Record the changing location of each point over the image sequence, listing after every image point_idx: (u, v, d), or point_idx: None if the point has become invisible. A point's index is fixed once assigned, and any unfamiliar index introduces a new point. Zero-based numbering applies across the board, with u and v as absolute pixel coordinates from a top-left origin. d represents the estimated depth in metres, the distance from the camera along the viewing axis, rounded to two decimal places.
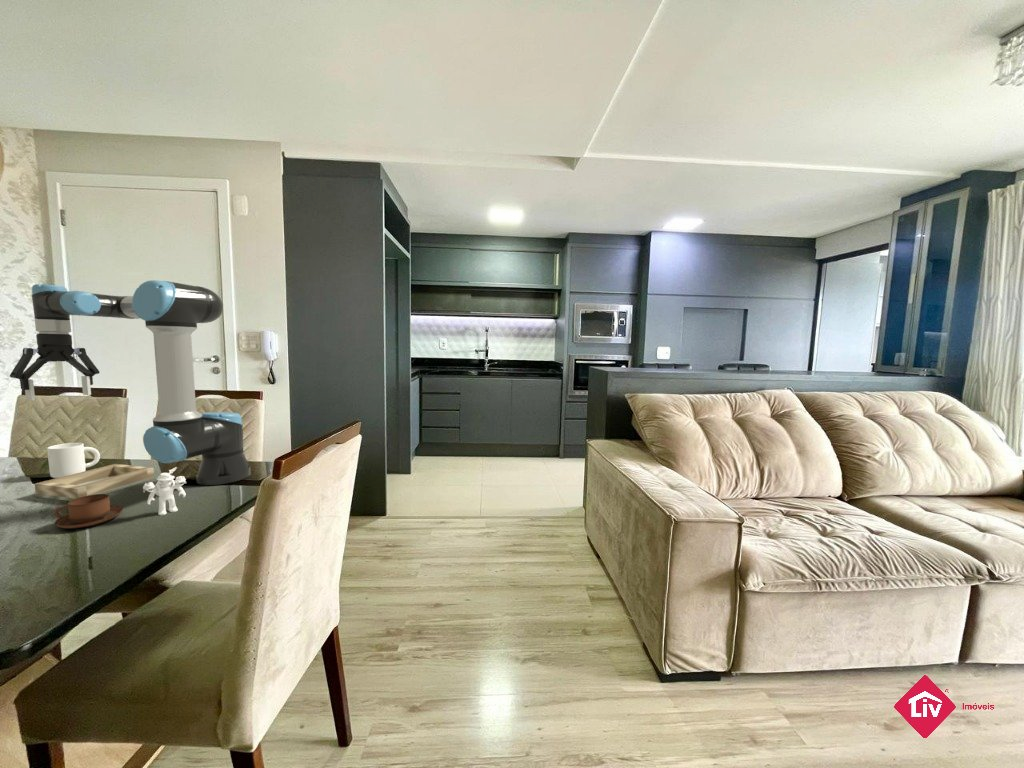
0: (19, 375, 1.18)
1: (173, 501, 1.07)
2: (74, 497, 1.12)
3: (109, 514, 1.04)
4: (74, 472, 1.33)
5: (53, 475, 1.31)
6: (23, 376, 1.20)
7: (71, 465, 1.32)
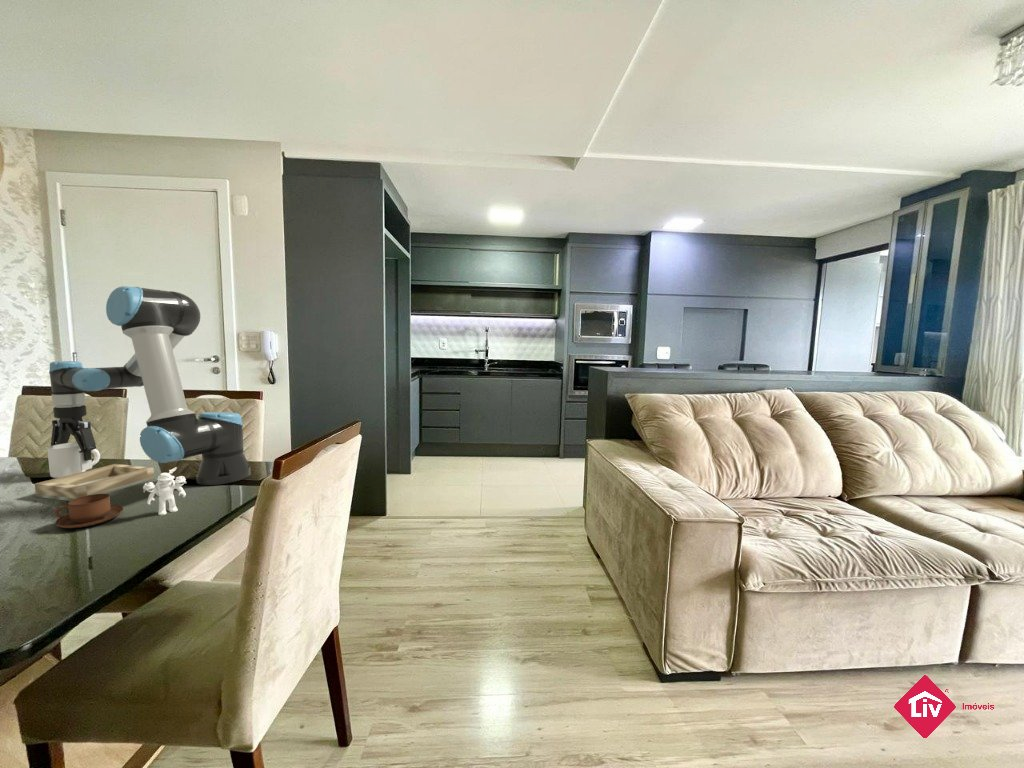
0: (52, 444, 1.35)
1: (173, 501, 1.07)
2: (74, 497, 1.12)
3: (109, 514, 1.04)
4: (74, 472, 1.33)
5: (53, 475, 1.31)
6: None
7: (71, 465, 1.32)
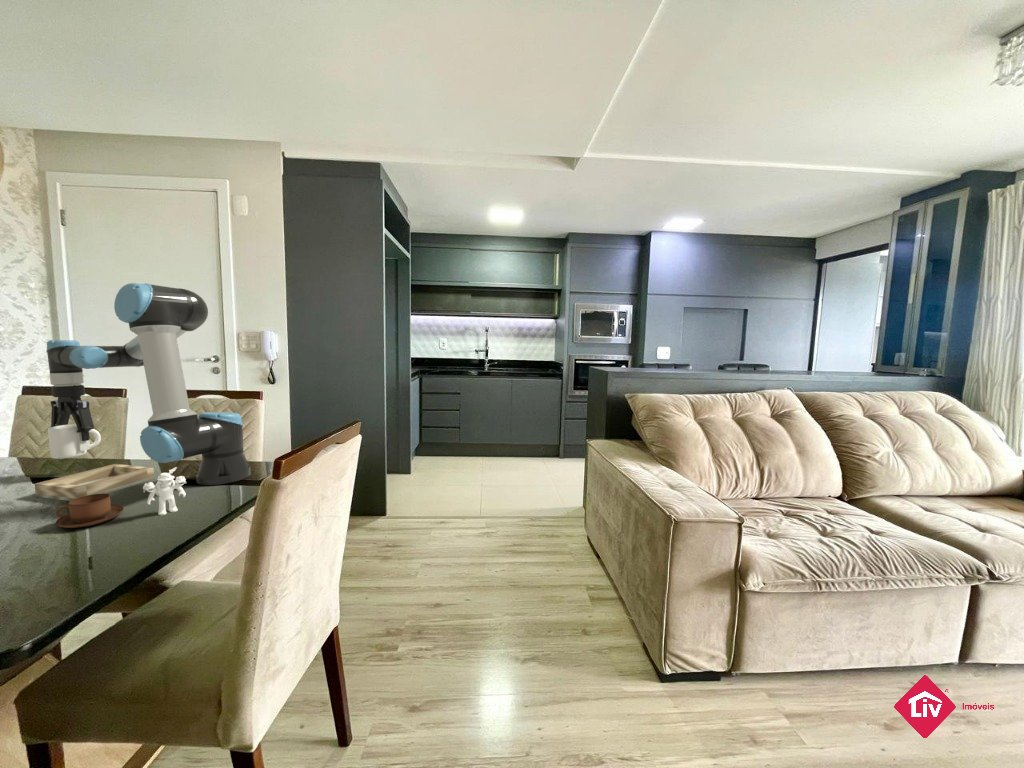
0: (52, 426, 1.34)
1: (173, 501, 1.07)
2: (74, 497, 1.12)
3: (110, 514, 1.04)
4: (75, 453, 1.32)
5: (54, 456, 1.30)
6: None
7: (72, 446, 1.31)
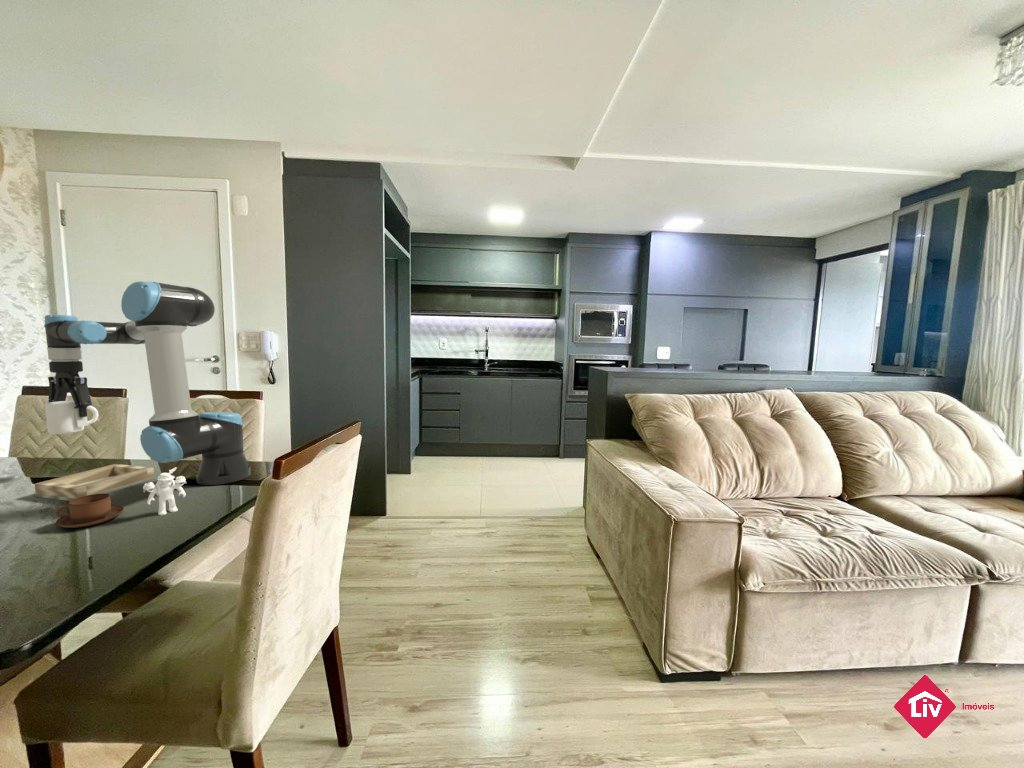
0: None
1: (173, 501, 1.07)
2: (74, 497, 1.12)
3: (110, 514, 1.04)
4: (72, 429, 1.31)
5: (51, 431, 1.29)
6: None
7: (69, 422, 1.31)
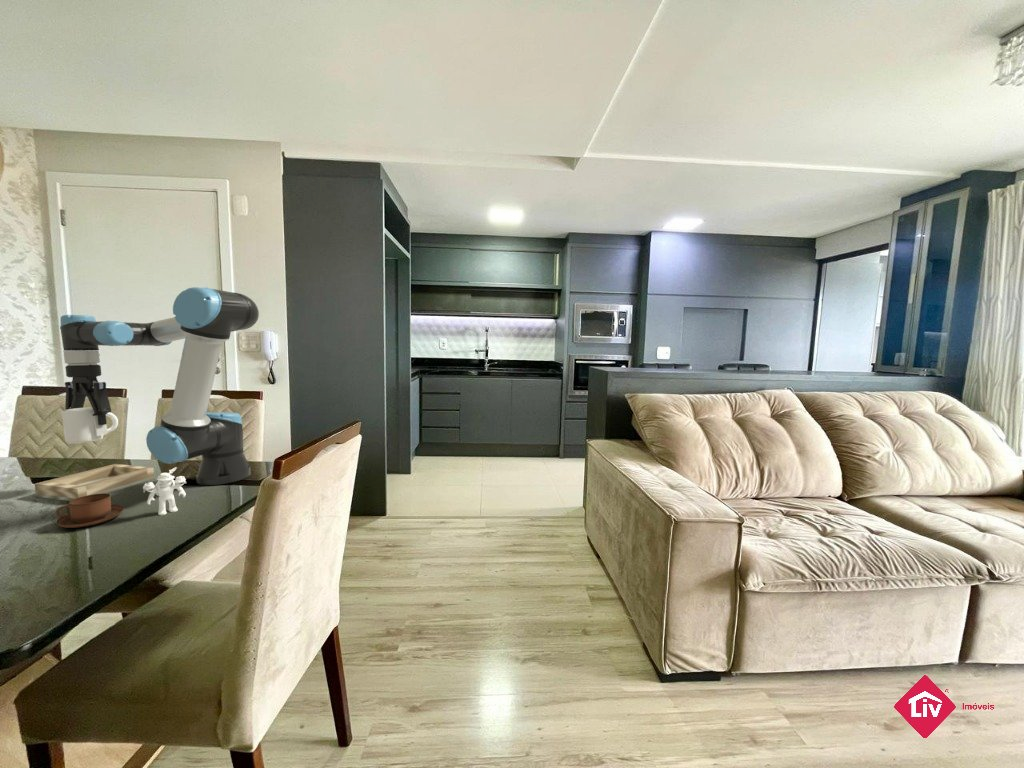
0: (66, 409, 1.24)
1: (173, 501, 1.07)
2: (74, 497, 1.12)
3: (110, 514, 1.05)
4: (91, 438, 1.22)
5: (68, 440, 1.19)
6: None
7: (88, 430, 1.21)
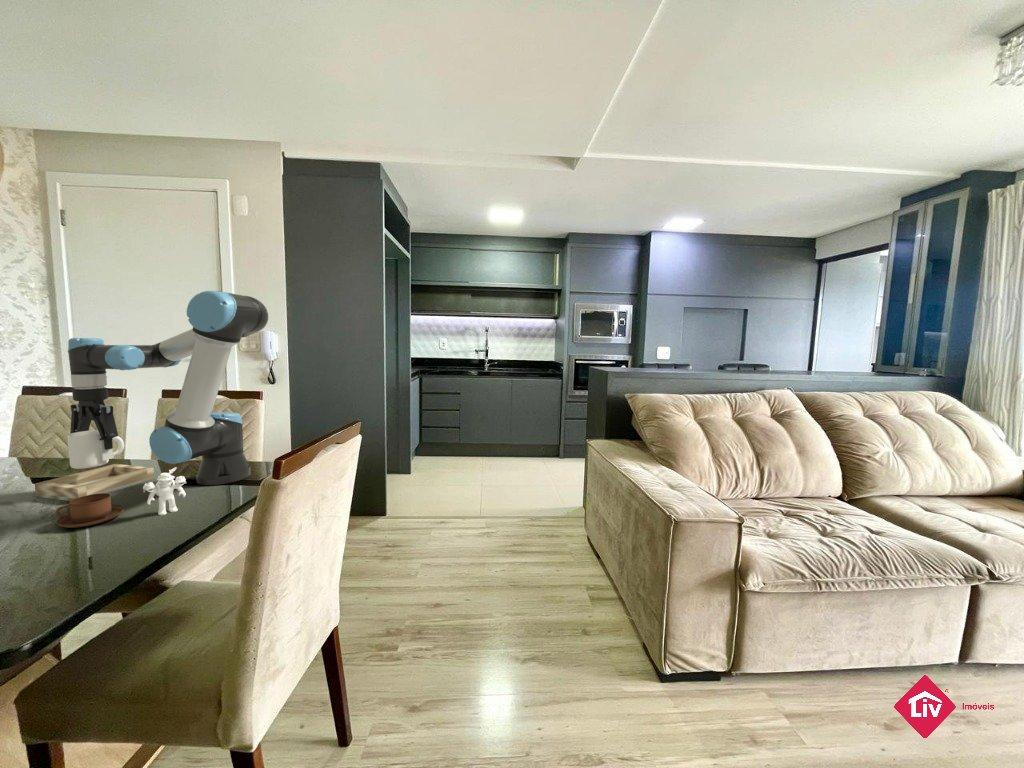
0: (72, 432, 1.22)
1: (173, 501, 1.07)
2: (74, 497, 1.12)
3: (110, 513, 1.05)
4: (96, 462, 1.20)
5: (74, 465, 1.17)
6: None
7: (93, 455, 1.19)
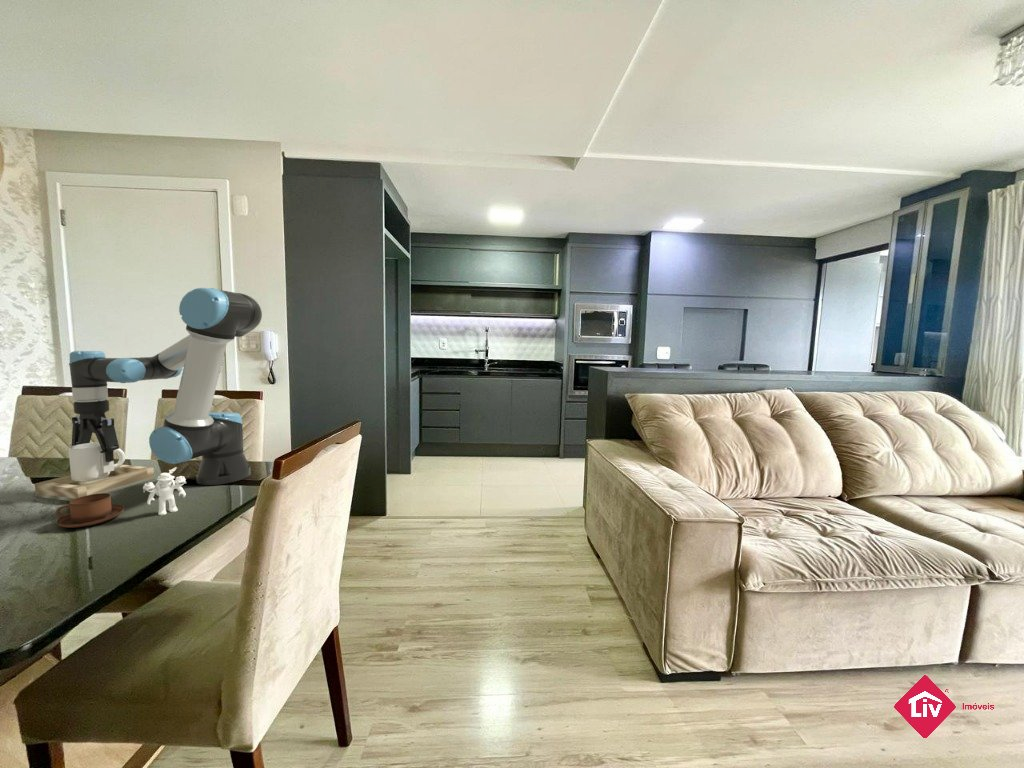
0: (73, 444, 1.22)
1: (173, 501, 1.07)
2: (74, 497, 1.12)
3: (110, 513, 1.05)
4: (98, 475, 1.20)
5: (75, 478, 1.18)
6: None
7: (95, 468, 1.19)
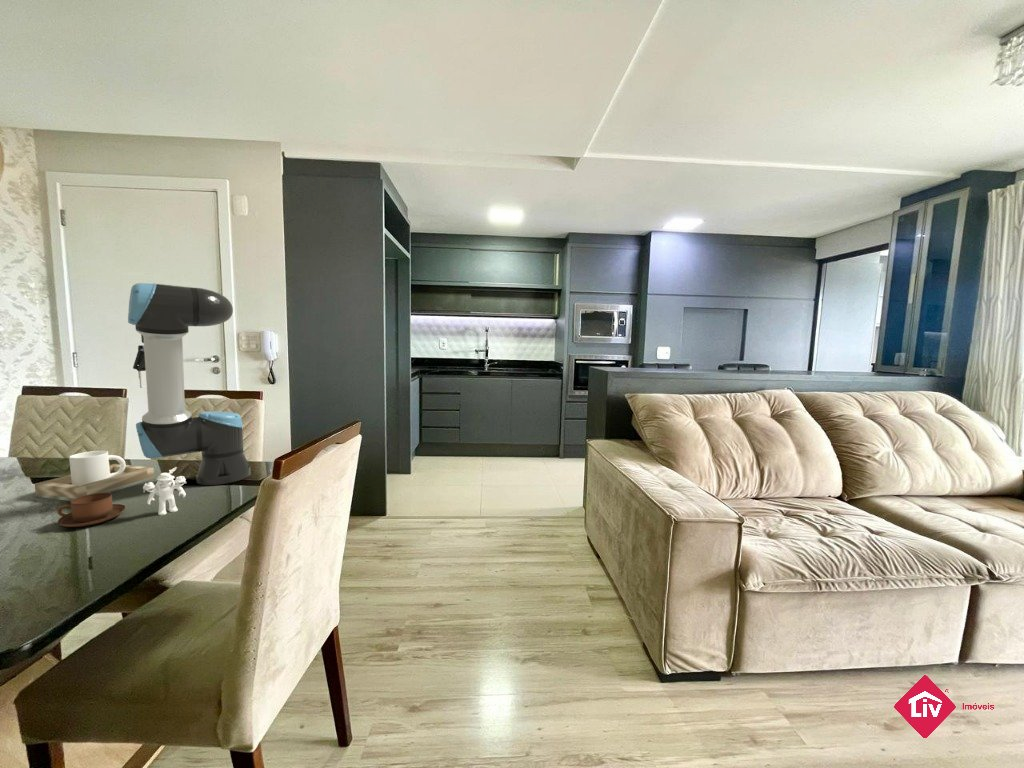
0: (134, 367, 1.49)
1: (173, 501, 1.07)
2: (74, 497, 1.12)
3: (112, 513, 1.05)
4: None
5: None
6: None
7: (96, 476, 1.20)
